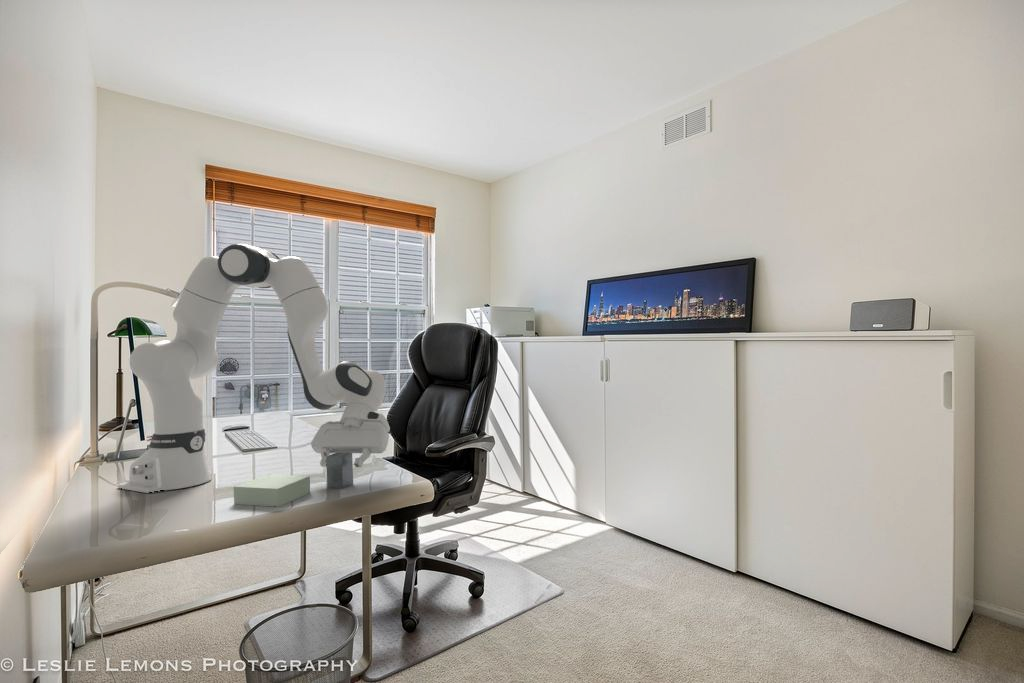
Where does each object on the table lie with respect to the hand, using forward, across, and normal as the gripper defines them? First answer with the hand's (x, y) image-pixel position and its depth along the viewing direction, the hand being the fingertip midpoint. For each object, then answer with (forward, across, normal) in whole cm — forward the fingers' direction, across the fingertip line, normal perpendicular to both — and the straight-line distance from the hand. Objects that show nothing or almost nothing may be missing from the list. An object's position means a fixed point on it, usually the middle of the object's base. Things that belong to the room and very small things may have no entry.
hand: (340, 465), depth 128 cm
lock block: (+4, 0, +4) cm, 5 cm away
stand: (+12, -11, -4) cm, 17 cm away
